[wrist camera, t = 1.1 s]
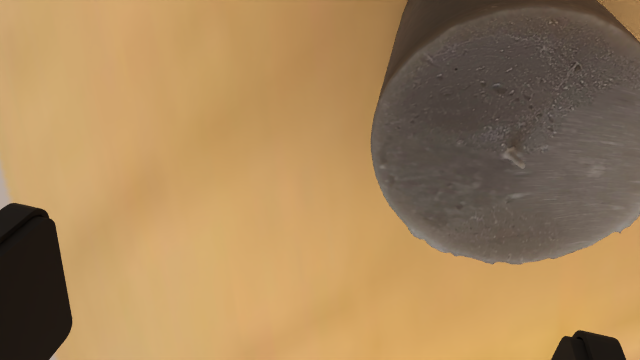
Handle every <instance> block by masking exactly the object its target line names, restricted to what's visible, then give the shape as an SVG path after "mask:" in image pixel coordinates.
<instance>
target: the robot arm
mask: <svg viewBox="0 0 640 360" xmlns="http://www.w3.org/2000/svg"><path fill="white" fill-rule="evenodd" d="M71 327H72V315H71V310H70V304H69V299H68V293H67V287H66V282H65V276H64V271H63V265H62V260H61V254H60V249H59V243H58V237H57V232H56V226H55V223H54V221H53V220H52V219H49V216H48V213H47V212H46V211H45V210H43V209H40V208H35V207H31V206H26V205H22V204H17V203H11V204H9V205H7V206H5V207H4V208H2V209H1V210H0V360H49V359H50V358H51V357H52V355H53V354H54V353H55V352H56V350H57V349H58V348H59V347H60V346H61V344H62V343H63V342H64V341H65V339H66V338H67V336H68V335H69V333H70V330H71ZM551 360H626V358H625V355H624V353H623V350H622V347H621V345H620V343H619V341H618V340H617V339H615V338H613V337H608V336H604V335H599V334H595V333H590V332H586V331H581V330H578V331H577V332H575V334H574V335H573V337H568V336H564V337H563V338H562V339H561V341H560V343H559V345H558V347H557V349H556V351H555V353H554V355H553V357H552V359H551Z"/></svg>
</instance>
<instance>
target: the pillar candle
mask: <svg viewBox="0 0 640 360" xmlns="http://www.w3.org/2000/svg"><path fill="white" fill-rule="evenodd" d="M371 153H372V160H373V166H374V170H375V175H376V178H377V180H378V183H379V185H380V188H381V190H382V192H383V195H384V197H385V198H386V200H387V202H388V203H389V205H390V207H391V208H392V209H393V210H394V212H396V214H397V216H398V217H399V218H400V219H401V220H402V221H403V222H404V223H405V224H406V225H407V227H408V229H409V231H410V232H411V234H413V236H415V237H417V238H419V239H424V240H425V241H426V242H427V243H428V244H429V245H430V246H431V247H433V248H436V249H437V250H439V251H441V252H444V253H448V252H451V253H452V254H453V255H454V256H465V257H470V258H473V259H477V260H481V261H483V262H485V263H490V264H494V263H495V262H506V263H509V264H522V263H526V262H535V261H540V260H544V259H547V258H551V259H555V258H558V257H560V256H564V255H566V254H569V253H573V252H575V251H577V250H580V249H583V248H586V247H588V246H591V245H593V244H594V243H596V242H597V241H599V240H601V239H603V238H605V237H607V236H608V235H610V234H611V233H613V232H619V233H621V231H622V230H623V229H624V228H627V227H629V226H630V225H631V224H632V223H633V222H634V221H635V220H636V219H637V218H638V216H639V215H640V42H639V41H638V40H637V39H636V38H635V37H634V36H633V35H632V34H631V33H630V32H629V31H628V30H627V29H626V28H625V27H624V26H623V25H622V24H621V23H620V22H619V21H618V20H617V19H616V18H615V17H614V16H613V15H612V14H611V13H610V12H609V11H608V10H607V9H606V8H605V7H604V6H602V5H601V4H600V3H599V2H598V1H597V0H408V2H407V5H406V7H405V10H404V12H403V15H402V19H401V22H400V25H399V29H398V31H397V35H396V39H395V42H394V46H393V50H392V53H391V57H390V60H389V64H388V67H387V72H386V75H385V79H384V82H383V86H382V89H381V92H380V96H379V100H378V104H377V107H376V111H375V114H374V119H373V125H372V132H371Z"/></svg>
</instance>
